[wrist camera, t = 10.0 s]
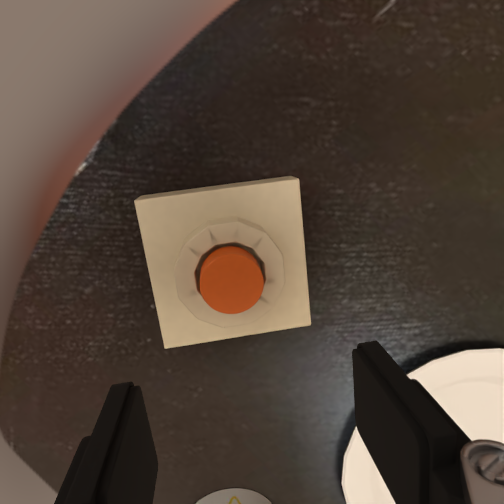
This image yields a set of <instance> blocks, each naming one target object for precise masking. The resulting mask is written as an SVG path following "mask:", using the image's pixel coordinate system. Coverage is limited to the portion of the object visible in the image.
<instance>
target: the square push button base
mask: <svg viewBox="0 0 504 504" xmlns="http://www.w3.org/2000/svg"><path fill="white" fill-rule="evenodd" d="M134 203H135V207H136V212H137V217H138V222H139V227H140V231H141V236H142V241H143V246H144V251H145V256H146V260H147V265H148V270H149V275H150V280H151V284H152V289H153V294H154V299H155V304H156V308H157V313H158V318H159V323H160V328H161V333H162V337H163V342H164V347H165V349H167V348H173V347H179V346H185V345H191V344H198V343H204V342H210V341H216V340H222V339H228V338H235V337H241V336H247V335H253V334H259V333H265V332H272V331H278V330H284V329H290V328H296V327H302V326H309V325H311V317H310V305H309V293H308V281H307V269H306V256H305V244H304V232H303V220H302V208H301V196H300V184H299V179H298V178H295V177H293V176H285V177H278V178H270V179H263V180H255V181H248V182H240V183H233V184H225V185H217V186H210V187H202V188H195V189H187V190H180V191H172V192H164V193H157V194H149V195H142V196H140V197H138V198H137V199H136V200H135V201H134ZM227 246H235V247H240V248H243V249H245V250H247V251H248V252H249V253H251V254H252V255H253V256H254V257H255V259H256V260H257V262H258V264H259V267H260V269H261V272H262V274H263V279H264V288H263V292H262V294H261V297H260V298H259V300H258V301H257V302H256V304H255V305H253V306H252V307H251V308H250V309H248V310H246V311H244V312H241V313H237V314H225V313H221V312H218V311H216V310H214V309H212V308H211V307H210V306H209V305H208V304H207V303H206V302H205V301H204V299H203V297H202V295H201V291H200V271H201V267H202V264H203V262H204V261H205V259H206V258H207V257H208V256H209V255H210V254H211V253H212V252H213V251H215V250H217V249H219V248H222V247H227Z"/></svg>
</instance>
